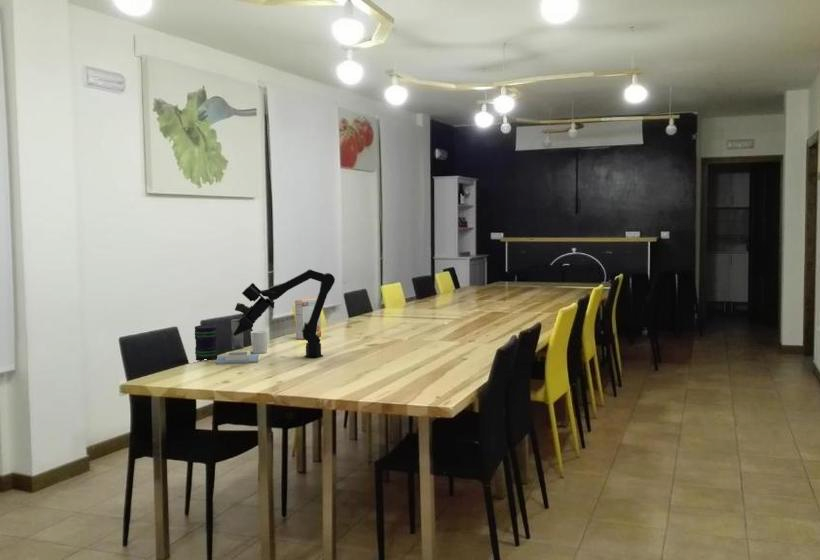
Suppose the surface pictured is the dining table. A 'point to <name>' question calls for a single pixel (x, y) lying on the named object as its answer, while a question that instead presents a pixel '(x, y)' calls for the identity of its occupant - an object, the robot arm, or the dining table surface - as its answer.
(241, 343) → the shaft
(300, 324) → the cracker box
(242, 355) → the blue square board
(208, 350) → the storage jar
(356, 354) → the dining table surface
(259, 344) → the white cup
